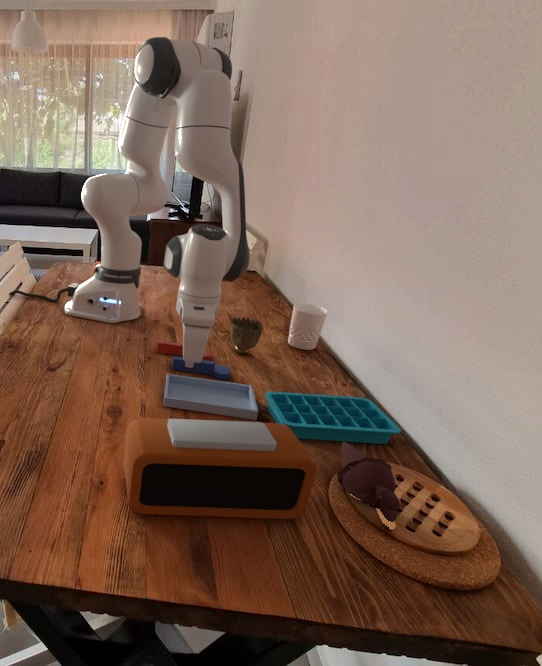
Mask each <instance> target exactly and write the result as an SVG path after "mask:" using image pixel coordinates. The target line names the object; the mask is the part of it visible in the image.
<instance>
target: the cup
mask: <svg viewBox="0 0 542 666" xmlns="http://www.w3.org/2000/svg"><path fill="white" fill-rule="evenodd" d="M264 328H265V325H263V322H261V320H256V321H255V318H253V319H250V317H247V318H246V317H242V318H241V317H238V318H236V317H233V318H232V319H231V322H230V340H231V343H232V345H233V346H234V349H233V350H234V352H235V353H237V354H239V355H249V354H250V352H251V349H253V348H255V347H256V346H257V345H258V343H259V340H260V338H261V335H262V332H263V330H264Z"/></svg>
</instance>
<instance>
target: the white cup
mask: <svg viewBox="0 0 542 666" xmlns="http://www.w3.org/2000/svg"><path fill="white" fill-rule="evenodd" d="M291 313H292V314H291V318H290V324H289V330H288V332H289V334H288V338H287V343H288V345H289V346H291V347H293V348H295V349H298V350H305V351H308V350H309V351H312V350H314V349H316V347H317V344H318V341H319V338H320V336H321V333H322V330H323V328H324V325H325V323H326V319H327V316H328V313H329V311H328V310H327V309H326V308H324V307H321V306H319V305H315V304H311V303H296V304H294V305H293V307H292V312H291Z"/></svg>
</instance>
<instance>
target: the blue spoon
mask: <svg viewBox="0 0 542 666" xmlns="http://www.w3.org/2000/svg"><path fill="white" fill-rule="evenodd" d="M171 370H174V371H182V372H189V373H197V374H203V375H210V376H212V377H213V378H216V379H219V380H228V379H230V377H231V374H232V370H231V369H230V367H227V366H225V365H220V364H216V363H215V361H213V360H208V361H207V360H202V361H201V362H200V363H194V365H193V367H192V368H189V367H186V366H185V361H184V360H183V356H177V355H173V357H172V366H171Z"/></svg>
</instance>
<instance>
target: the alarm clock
mask: <svg viewBox="0 0 542 666" xmlns="http://www.w3.org/2000/svg"><path fill="white" fill-rule="evenodd" d="M123 455H124V457H123V470H124V477H125V478H124V479H125V486H126V487H125V488H126V495H127V503H128V506H129V508H130V509H131V510H132V511H133V512H134V513H136V514H139V515H149V516H151V515H152V516H154V515H155V516H177V517H178V516H180V517H181V516H182V517H205V518H206V517H207V518H208V517H209V518H235V519H243V518H244V519H264V520H267V519H268V520H294V519H296V518H299V517H301V516H302V515H303V514H304V513H305V511H306V510H307V507H308V503H309V501H310V496H311V493H312V490H313V486H314V484H315V481H316V478H317V477H316V476H317V474H318V473H317V472H318V466H317V464H316V461H315V460H314V459H313V458H312V456H311V455H310V453H309V452H308V451H307V449H306V448H305V446H304V445H303V444H302V442H301V441H300V439H299V438H297V437H296V435H295V434H294V433H293V431H292V430H291V429H290V428H289V427H288V426H287V425H284V424H280V423H276V422H261V421H239V420H214V419H213V420H211V419H210V420H209V419H185V418H184V419H183V418H150V417H149V418H147V417H142V418H136V419H134V420H132V421H131V422H130V423H129V425H128V426H127V429H126V436H125V447H124V454H123Z"/></svg>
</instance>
